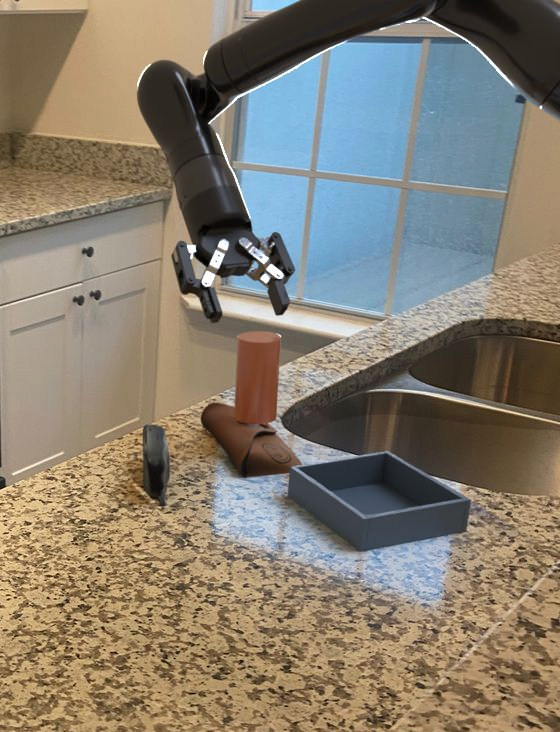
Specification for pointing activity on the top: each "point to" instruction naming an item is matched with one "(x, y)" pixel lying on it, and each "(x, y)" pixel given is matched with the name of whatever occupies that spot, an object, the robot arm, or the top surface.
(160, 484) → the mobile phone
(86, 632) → the top surface
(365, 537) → the plastic tray
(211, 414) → the sunglasses case
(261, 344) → the reddish orange cylinder
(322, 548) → the top surface
